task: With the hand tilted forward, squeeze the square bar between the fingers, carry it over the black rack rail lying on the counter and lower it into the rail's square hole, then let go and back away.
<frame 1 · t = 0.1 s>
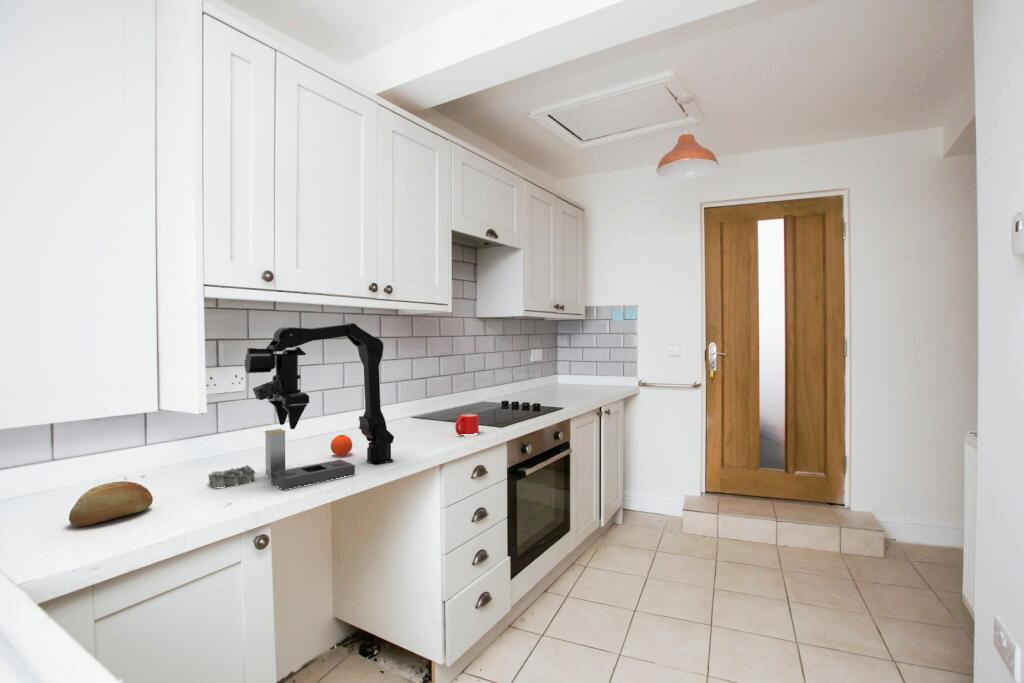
hand: (287, 426, 141), 15 cm above the counter, tool pointing down, fingers open, 9 cm apart
rack rail: (314, 479, 140), on the counter
square bar: (275, 475, 143), on the counter
mug: (465, 435, 201), on the counter
clementine: (341, 455, 168), on the counter
bread roll: (113, 519, 111), on the counter
egg carton: (231, 484, 137), on the counter
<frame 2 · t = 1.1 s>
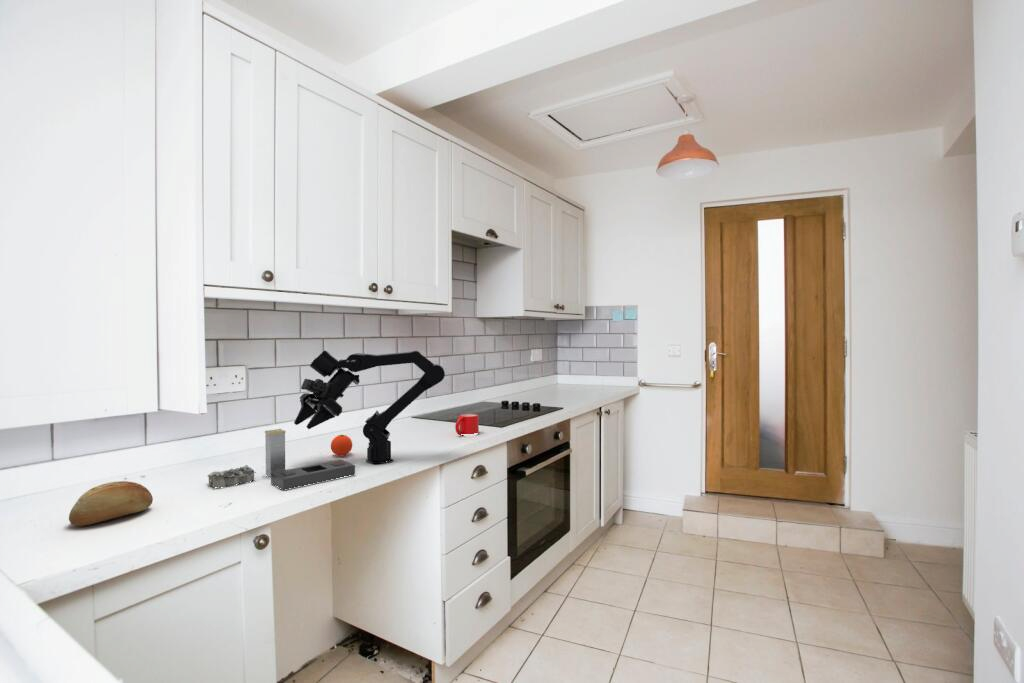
hand: (301, 426, 148), 13 cm above the counter, tool tilted 45°, fingers open, 9 cm apart
nothing on the counter moved.
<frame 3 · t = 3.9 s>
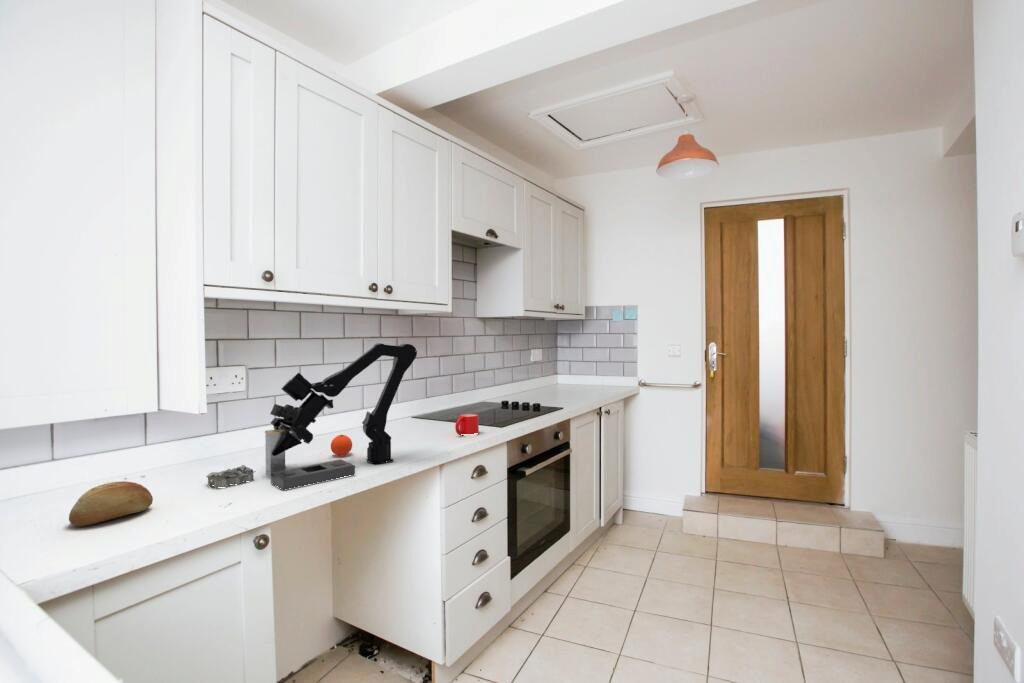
hand: (270, 453, 142), 7 cm above the counter, tool tilted 45°, fingers closed on square bar, 4 cm apart
square bar: (275, 475, 143), on the counter, touching gripper
everything else where it was.
when the fingers open (8 cm above the counter, at t = 7.6 s): square bar drops 1 cm, resting in rack rail.
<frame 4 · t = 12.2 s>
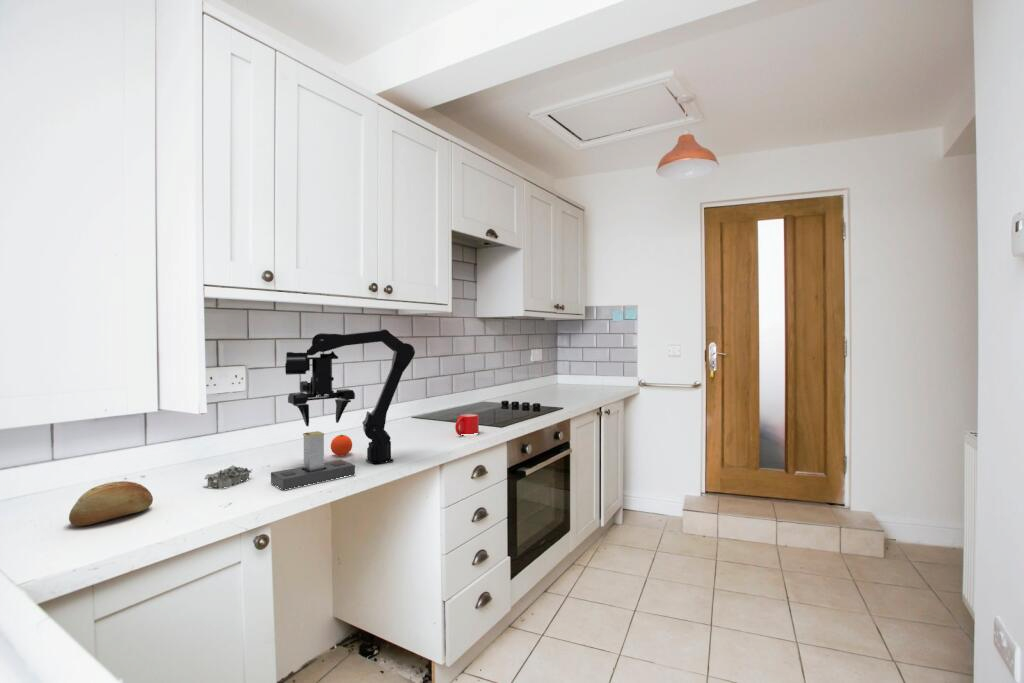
hand: (322, 424, 153), 13 cm above the counter, tool pointing down, fingers open, 9 cm apart
square bar: (314, 479, 140), resting in rack rail
at the end: square bar 0.1 cm off-centre on the rack rail, point 0.0 cm above the rack rail's base; square bar tilted 0°; the gripper is holding nothing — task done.
